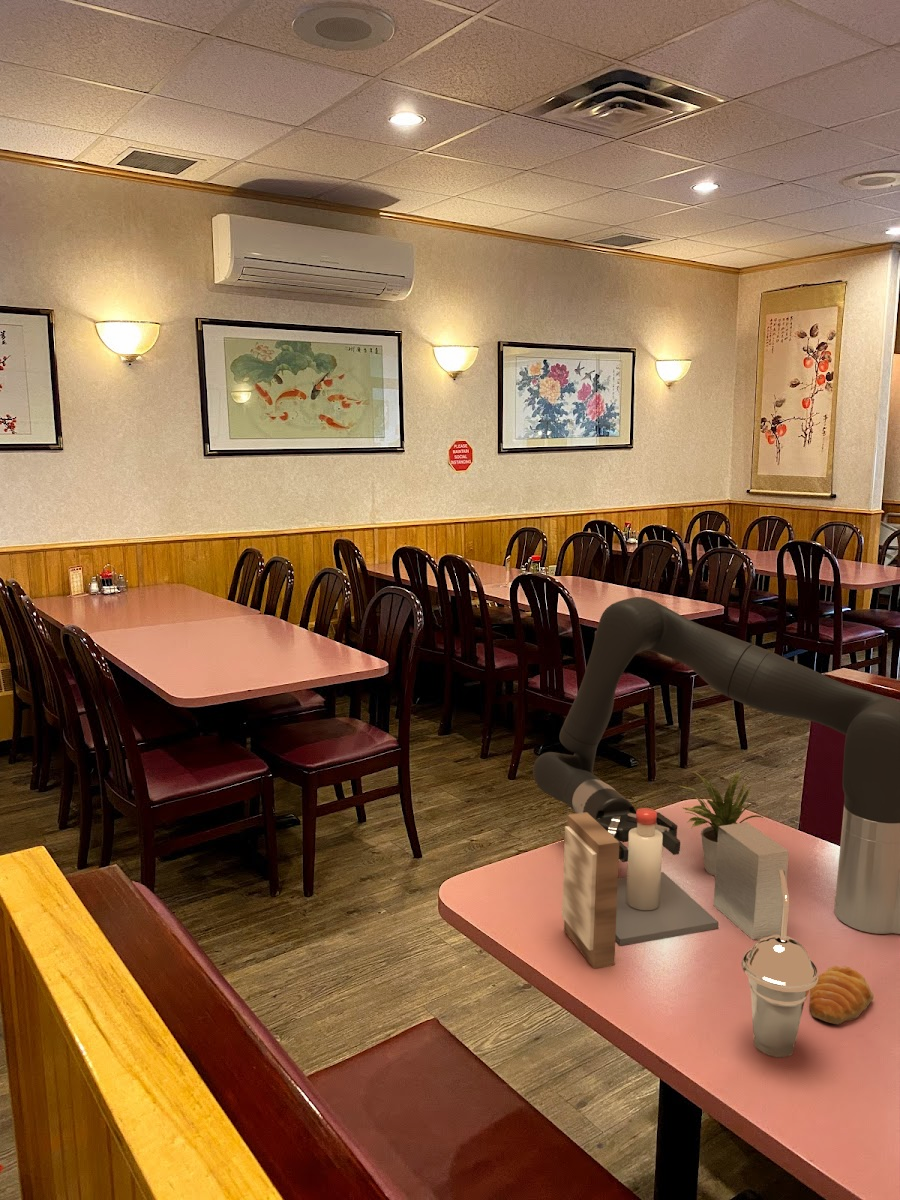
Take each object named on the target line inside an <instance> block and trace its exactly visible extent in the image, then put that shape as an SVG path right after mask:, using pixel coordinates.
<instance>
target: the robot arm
mask: <svg viewBox="0 0 900 1200" xmlns="http://www.w3.org/2000/svg"><path fill="white" fill-rule="evenodd" d="M644 651H650V652H653V653H657V654H659V655H663V656H665V657H667V658H670V659H672V660H675V661H678V662H679V663H681V664H683V665H685V666H687V667H688V668H690V669H691V670H692V671H693V672H694V673H696V674H697V675H698V676H699V677H700V678H701V679H702V680H703V681H704V682H705V683H707V684H708V686H709V687H711V688H713V689H714V690H715V691H717V692H718V693H720V694H722V695H723V696H726V697H727V698H730V699H732V700H734V701H736V702H738V703H741V704H743V705H745V706H748V707H749V708H753V709H754V710H757V711H761V712H765V713H768V714H772V715H777V716H782V717H787V718H793V719H800V720H804V721H810V722H813V723H817V724H819V725H823V726H825V727H829V728H830V729H832V730H834V731H837V732H839V733H841V734H842V735H845V740H844V741H845V742H844V747H843V748H844V749H843V763H842V764H843V765H842V766H843V768H842V790H843V793H844V802H843V812H842V813H843V814H842V823H841V824H842V825H841V833H840V834H841V835H840V846H839V857H838V865H837V866H838V867H837V876H836V888H835V889H836V890H835V896H834V897H835V898H834V915H835V916H836V918H837V919H838V920H839V921H840V922H842V923H843V924H845V925H846V926H848V927H850V928H853V929H856V930H858V931H861V932H866V933H870V934H877V935H878V934H881V935H883V934H884V935H886V934H897V935H900V700H897V699H895V698H894V697H893V698H892V697H889V696H886V695H883V694H879V693H876V692H872V691H869V690H865V689H862V688H859V687H856V686H852V685H849V684H846V683H843V682H841V681H838V680H837V679H834V678H830V677H829V676H827V675H825V674H823V673H821V672H818V671H816V670H814V669H812V668H810V667H807V666H804V665H802V664H800V663H797V662H796V661H793V660H790V659H788V658H786V657H783V656H782V655H779V654H777V653H775V652H773V651H771V650H768V649H765V648H763V647H761V646H758V645H757V644H753V643H751V642H747V641H745V640H741V639H739V638H737V637H734V636H731V635H729V634H726V633H724V632H721V631H719V630H715V629H714V628H710V627H708V626H707V627H706V626H705V625H703V624H702V625H701V624H699V623H698V622H695V621H692V620H691V619H689V618H687V617H684V615H683V616H682V615H681V614H679V613H678V612H675V611H674V610H672V609H670V608H668V607H667V606H665V605H663V604H662V603H659V602H657V601H655V600H653V599H651V598H648V597H645V596H644V597H642V596H634V597H630V598H629V597H628V598H625V599H623V600H618V601H616V602H614V603H611V604H610V605H609V606H608V607H606V608H605V610H604V611H602V614H601V616H600V619H599V622H598V624H597V629H596V631H595V636H594V640H593V643H592V648H591V653H590V655H589V658H588V662H587V665H586V668H585V672H584V675H583V677H582V680H581V683H580V686H579V689H578V692H577V694H576V696H575V698H574V701H572V702H573V703H572V705H571V707H570V708H569V711H568V714H567V715H566V718H565V720H564V722H563V725H562V727H561V729H560V731H559V735H558V738H559V741H560V743H561V746H563V747H564V748H565V749H566V750H568V751H569V752H571V753H574V754H567V753H560V752H553V751H547V752H544V753H542V754H540V755H539V756H538V757H536V759H535V761H534V764H533V767H532V775H533V780H534V782H535V784H536V785H537V787H538V788H539V789H540V790H541V791H542V792H543V793H544V794H545V795H548V796H550V797H552V798H553V799H555V800H557V801H560V802H561V803H563V804H564V803H565V804H566V805H568V807H569V808H570V809H571V810H572V811H573V812H575V814H577V813H585V812H587V813H588V814H589V815H590V816H592V817H593V818H594V819H595V820H596V821H597V822H598V823H599V824H600V825H601V826H602V827H603V828H605V829H606V830H607V831H608V832H609V833H610V834H611V835H612V836H613V837H614V838H615V839H616V840H618V841H619V860H620V861H621V863H628V846H626V845H625V844H624V843H627V842H628V840H629V831H630V830H631V829H633V828H637V821H636V811H637V809H635V807H634V805H633V803H631V801H629V799H627V798H626V797H625V796H624V795H622V794H621V793H620V792H618V791H617V790H616V789H615V788H614V787H612V786H611V785H610V784H608V783H605V782H604V781H603V780H601V779H600V778H599V777H598V776H597V775H595V774H594V773H593V772H594V767H595V766H594V765H595V759H596V755H597V748H598V745H599V744H600V742H601V740H602V737H603V735H604V733H605V731H606V729H607V727H608V725H609V723H610V721H611V717H612V714H613V711H614V710H613V709H614V704H615V697H616V696H615V695H616V690H617V688H618V684H619V682H620V678H621V676H622V675H623V673H624V671H625V669H626V668H627V667H628V665H629V664H630V663H631V661H632V659H633V658H634V657H635V656H636V654H639V653H641V652H644ZM655 829H656V830H658V831H660V832H661V833H662V834H663V841H662V847H663V848H665V849H666V850H667V851H668V852H670V854H672V856H675V855H679V854H680V851H681V841H680V839H679V838H678V837H677V835H678V825H677V824H676V823H675V822H673V821H672V820H671V819H669V818H667V817H666V816H665V815H664V814H662V813H660V812H659V811H657V822H656V824H655Z"/></svg>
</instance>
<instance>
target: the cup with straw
mask: <svg viewBox="0 0 900 1200" xmlns="http://www.w3.org/2000/svg"><path fill="white" fill-rule="evenodd" d="M779 877H780V883H781V889H782V895H783V906H782V918H781V931H780V934H771V935H767V936H764V937H762V938H759V939H757V940H756V942H755V943H754V944H753V946H752V947H751V948H749V949H748V950H747V951H745V953H744V954H743V957H742V960H741V968H742V970H743V972H744V974H745V975H746V976H747V979H748V985H749V989H750V997H751V998H750V999H751V1001H750V1002H751V1016H752V1017H751V1018H752V1019H751V1020H752V1034H753V1044H754V1046H755V1048H756V1049H758V1050H759V1051H760V1052H762V1053H763V1054H764V1055H767V1056H769V1057H773V1058H786V1057H790V1056H791V1055H792V1054H793V1052H794V1049H795V1045H796V1041H797V1036H798V1033H799V1028H800V1023H801V1018H802V1016H803V1010H804V1006H805V1002H806V1000H807V998H808V994H809V993H810V990H811V989H812V988H813V987H814V986H815V985H816V984H817V982H818V976H819V974H818V968H817V966H816V965H815V963H814V962H813V961H812V960H811V959H810V956H809V954H808V951H807V950H806V949H805V948H804V946H803V945H802V944H801V943H800V942H799V941H797V940H796V939H795V938H792V936H788V935H787V933H788V919H789V909H790V894H789V888H788V882H787V881H786V876H785V871H783V870H780V871H779Z"/></svg>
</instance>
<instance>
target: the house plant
mask: <svg viewBox="0 0 900 1200" xmlns="http://www.w3.org/2000/svg"><path fill="white" fill-rule="evenodd" d="M693 773H694V774H696V775H697V776H698V777H699V778H700V779H701V780H702V781H703V783H704V784H705V785H704V786H705V787H706V789H707V792H708V794H709V797H710V798H711V800H710V799H708V798H707V797H706V796H705V795H704V794H703V793H702V792H700V791H699V790H697V789H695V788H693V787H688V786H682V785H679V786H678V787H680V788H685V789H687V790H688V789H689V790H691V793H693V794H694V792H696V793H698V794H700V795H701V796H702V797H704V798H702V797H701V796H700V795H698V794H697V796H698V797H699V798H698V797H697V796H695V795H694V797H695V799H697V801H698V802H699V803H700V805H695V806H693V807H682V809H683V810H685V811H684V813H687V814H692V815H694V817H691V818H690V819H689V820H688V821H687V822H686V823H687V824H688V823H690V822H694V823H693V824H692V826H691V828H690V829H693V828H694V827H698V826H700V825H703V824H705V825H706V826H707V827H705V828H703V829H702V830H701V832H700V836H701V845H702V846H701V847H702V854H703V863H704V870H705V872H706V873H708V874H709V875H712V876H714V877H715V873H716V857H717V842H718V826H724V825H731V824H738V822H737V821H738V820H739V818H740V816H741V815H742V814H744V813H743V812H745V811H746V809H748V808H749V807H751V806H752V804H754V803H755V802H757V801H759V800H760V798H758V799H756V800H754V801H752V802H751V803H750V804H745V805H744V803H745V802H746V799H747V798H748V796H749V792H750V790H751V787H752V786H751V785H750V786H749V787H748V788H747V790H746V789H745V787H746V785H747V783H746V782H747V780H745V781H744V783H743V785H742V786H741V788H740V791H739V792H738V795H737V797H736V799H735V802H734V800H733V799H734V796H735V792H736V788H737V785H738V783H739V781H741V780H742V778H741V777H740V778H739V776H740V774H741V771H740V770H739V771H737V772H736V773H735V774H734V775H733V777H732V779H731V780H730V781H731V782H730V783H729V786H728V787H727V789H726V791H725V794H724V799H723V798H722V796H721V794H720V792H719V791H718V789H716V787H715V786H714V785H713V783H711V782H710V781H709V780H707V779H706V778H705V777H704V776H702V775H701V774H699V773H698V772H695V771H693ZM687 790H686V791H685V792H687V793H690V791H689V790H688V791H687ZM745 790H746V791H745ZM692 791H694V792H692ZM744 791H745V793H744ZM705 800H706V802H707V803H708V804H709V806H710V807H711V808H712V811H713V813H712V811H711V810H710V808H709V806H708V804H707V803H706V802H705ZM733 802H734V804H733ZM745 806H746V807H745ZM686 811H687V812H686ZM696 814H697V815H696ZM699 816H700V817H699ZM752 818H761V819H764V817H763V816H761V815H758V814H756V815H751V816H747V817H745V818H743V819H742V820H741V821H739V823H744V821H746V820H748V819H752ZM707 824H709V825H710V826H709V825H707Z"/></svg>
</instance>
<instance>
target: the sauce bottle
mask: <svg viewBox="0 0 900 1200" xmlns="http://www.w3.org/2000/svg"><path fill="white" fill-rule="evenodd" d="M657 812H658V811H657V810H656V809H653V808H649V807H641V808H640V807H639V808H637V809H636V821H637V828H633V829H631V830H630V831H629V840H628V844H627V848H628V861H627V866H626V871H627V872H626V877H627V889H626V903H627V904H628V905H629V906H631V907H633V908H635V909H639V910H653V909H656V908H658V907H659V905H660V883H661V872H662V858H663V857H662V856H663V846H662V841H663V834H662V833H661V832H660V831H658V830H656V829H655V824H656V822H657Z"/></svg>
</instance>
